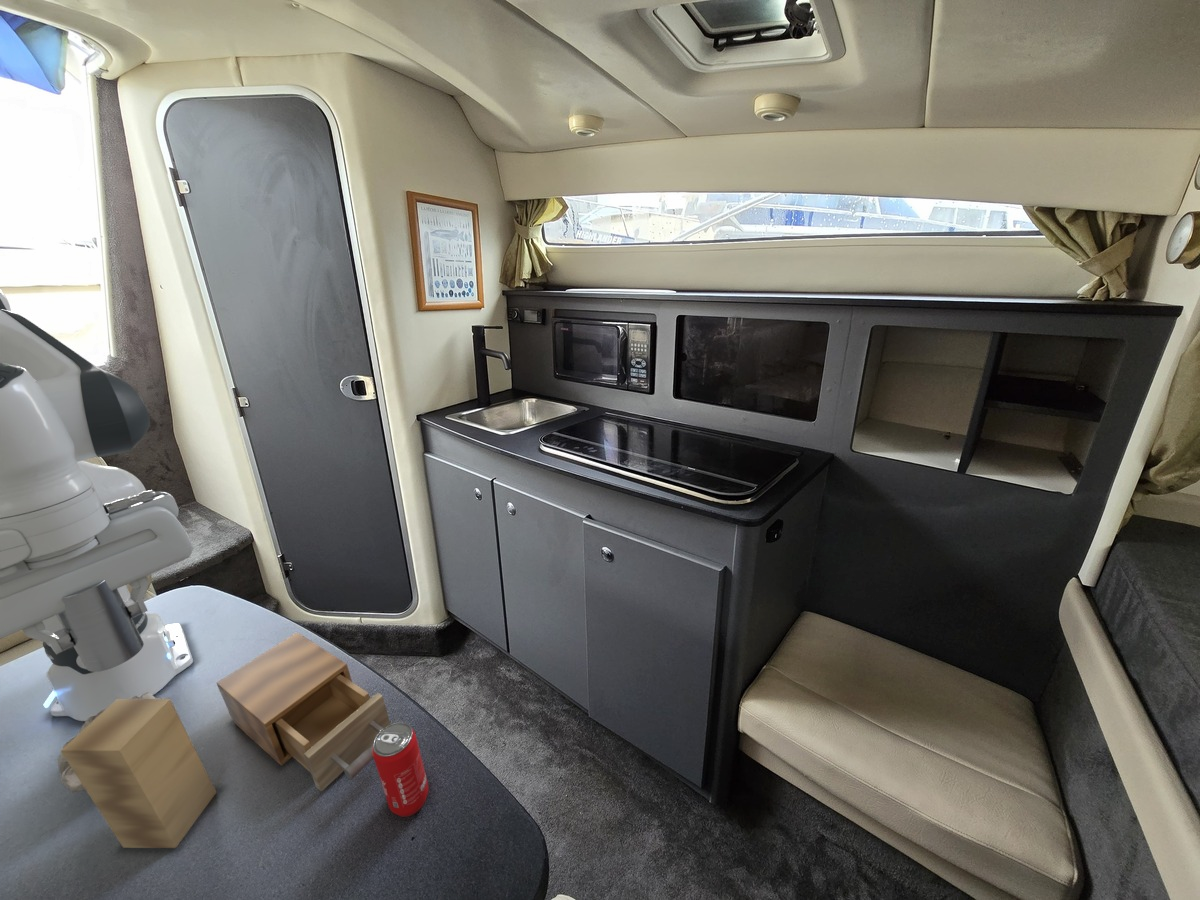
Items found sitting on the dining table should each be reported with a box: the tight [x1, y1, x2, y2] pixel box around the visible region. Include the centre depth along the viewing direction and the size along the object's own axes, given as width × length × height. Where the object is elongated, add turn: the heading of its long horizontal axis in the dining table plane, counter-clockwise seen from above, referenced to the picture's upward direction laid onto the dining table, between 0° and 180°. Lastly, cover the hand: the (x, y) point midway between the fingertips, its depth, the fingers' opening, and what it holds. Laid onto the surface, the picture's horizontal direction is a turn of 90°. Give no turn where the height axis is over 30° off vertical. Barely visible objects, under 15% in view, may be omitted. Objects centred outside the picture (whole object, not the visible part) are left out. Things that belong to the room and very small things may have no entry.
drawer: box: [272, 674, 392, 792], centre depth 73 cm, size 18×11×7 cm, turn 59°
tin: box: [56, 580, 144, 672], centre depth 55 cm, size 5×5×10 cm
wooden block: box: [60, 698, 217, 849], centre depth 63 cm, size 7×7×18 cm
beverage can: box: [373, 721, 429, 818], centre depth 65 cm, size 5×5×12 cm
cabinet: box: [216, 631, 353, 766], centre depth 79 cm, size 15×13×9 cm
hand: (102, 630), depth 56 cm, fingers closed on tin, 5 cm apart
